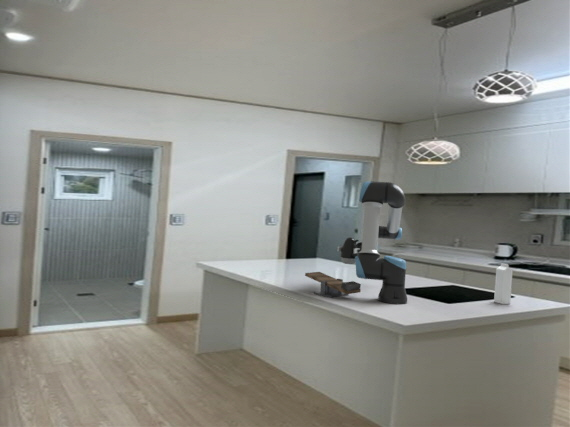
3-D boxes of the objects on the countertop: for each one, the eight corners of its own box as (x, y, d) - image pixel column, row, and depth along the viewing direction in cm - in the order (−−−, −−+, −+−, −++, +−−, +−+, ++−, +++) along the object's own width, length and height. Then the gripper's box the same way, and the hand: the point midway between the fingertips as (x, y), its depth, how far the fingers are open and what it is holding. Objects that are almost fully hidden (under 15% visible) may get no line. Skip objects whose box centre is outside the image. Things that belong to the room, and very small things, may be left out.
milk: (501, 304, 262) (504, 264, 261) (493, 301, 267) (496, 262, 267) (510, 304, 263) (513, 264, 263) (502, 301, 269) (505, 262, 269)
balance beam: (360, 292, 253) (361, 284, 253) (346, 294, 245) (348, 286, 244) (319, 274, 274) (320, 266, 274) (304, 275, 266) (306, 267, 265)
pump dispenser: (352, 265, 266) (354, 238, 265) (336, 263, 272) (338, 236, 272) (361, 264, 274) (362, 237, 273) (345, 261, 280) (347, 236, 280)
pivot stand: (348, 295, 261) (349, 280, 261) (330, 298, 250) (331, 282, 250) (331, 291, 269) (332, 277, 269) (313, 293, 259) (314, 279, 258)
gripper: (380, 256, 281) (363, 259, 263) (346, 252, 294) (328, 254, 276) (380, 243, 281) (364, 245, 263) (347, 240, 294) (329, 241, 275)
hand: (346, 250), depth 269 cm, fingers closed on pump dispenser, 10 cm apart
